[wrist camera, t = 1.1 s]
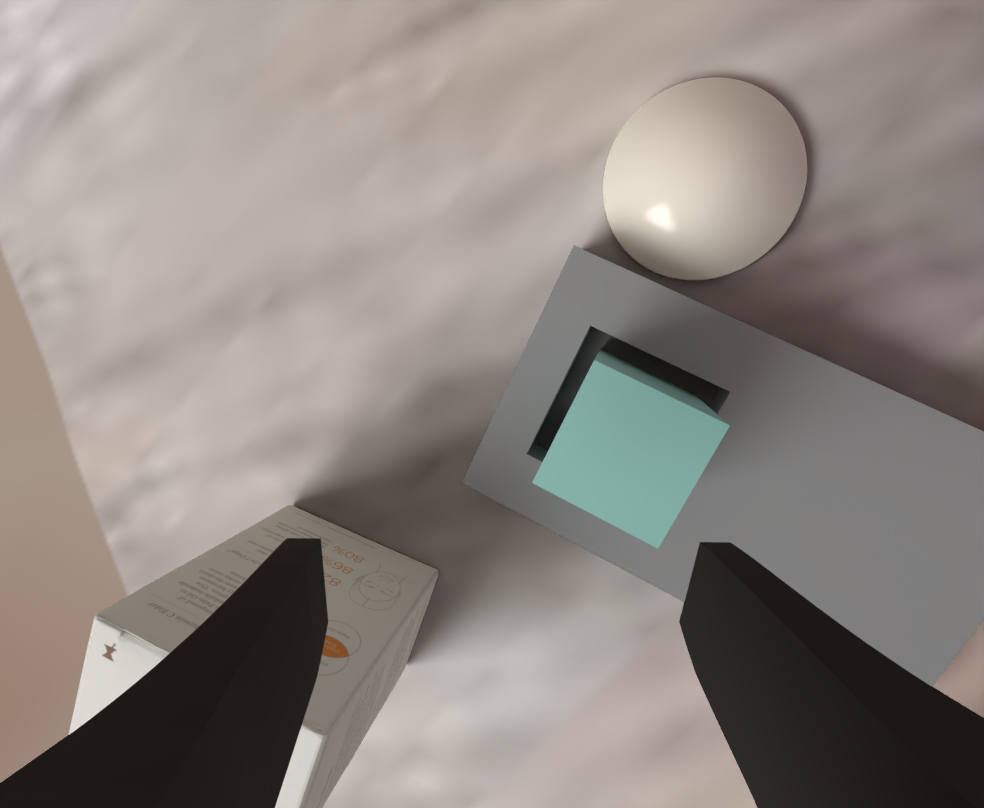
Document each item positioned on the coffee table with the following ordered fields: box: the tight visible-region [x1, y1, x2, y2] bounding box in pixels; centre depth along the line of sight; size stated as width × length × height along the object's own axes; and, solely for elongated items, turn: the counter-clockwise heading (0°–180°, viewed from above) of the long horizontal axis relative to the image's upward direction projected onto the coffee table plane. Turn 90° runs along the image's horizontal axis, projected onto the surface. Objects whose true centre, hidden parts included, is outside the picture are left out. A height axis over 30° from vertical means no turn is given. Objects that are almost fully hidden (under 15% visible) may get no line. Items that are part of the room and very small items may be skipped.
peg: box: [532, 349, 730, 549], centre depth 19 cm, size 4×4×7 cm
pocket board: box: [462, 246, 984, 686], centre depth 21 cm, size 18×10×2 cm, turn 65°
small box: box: [69, 505, 439, 808], centre depth 21 cm, size 8×6×10 cm
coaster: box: [603, 77, 807, 281], centre depth 20 cm, size 7×7×1 cm
